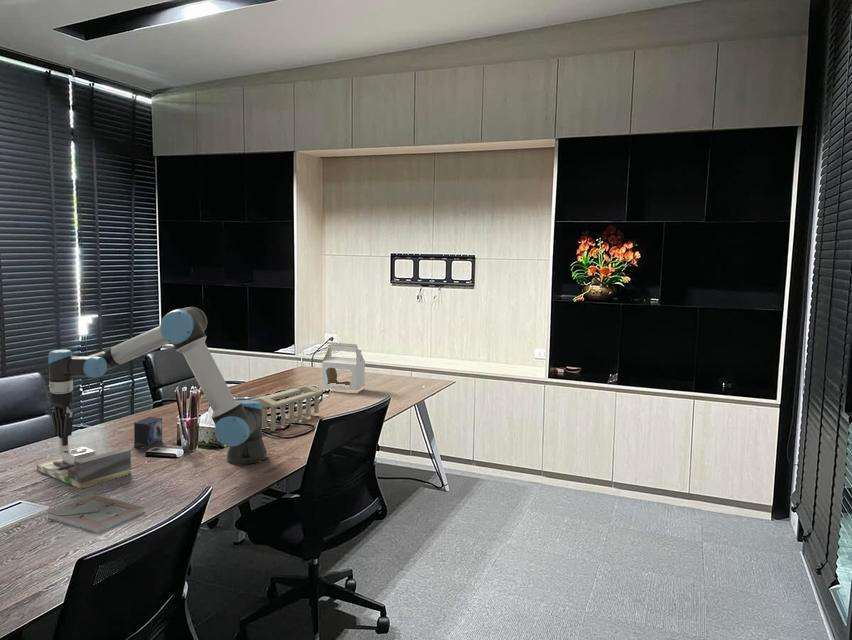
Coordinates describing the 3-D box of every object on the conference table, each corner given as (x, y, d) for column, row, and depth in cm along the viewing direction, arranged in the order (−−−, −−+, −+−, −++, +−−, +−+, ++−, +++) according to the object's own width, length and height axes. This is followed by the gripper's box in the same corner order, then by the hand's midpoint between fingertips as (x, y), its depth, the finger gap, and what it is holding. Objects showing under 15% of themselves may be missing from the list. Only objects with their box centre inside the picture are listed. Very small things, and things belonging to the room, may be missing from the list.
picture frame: (48, 520, 191) (98, 535, 182) (47, 512, 191) (97, 526, 182) (96, 501, 206) (144, 514, 197) (95, 493, 206) (144, 506, 197)
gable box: (321, 391, 369) (321, 343, 366) (330, 386, 382) (331, 340, 379) (356, 394, 364) (357, 346, 361) (364, 389, 376) (365, 343, 373)
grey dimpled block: (95, 464, 232) (95, 449, 231) (59, 473, 221) (59, 458, 220) (83, 459, 236) (83, 445, 235) (47, 468, 225) (47, 454, 225)
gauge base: (131, 474, 229) (130, 450, 228) (80, 489, 213) (79, 463, 212) (86, 457, 245) (85, 434, 244) (35, 470, 230) (34, 446, 229)
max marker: (81, 477, 218) (81, 468, 218) (74, 479, 216) (74, 470, 216) (75, 474, 220) (74, 466, 220) (68, 476, 218) (67, 468, 218)
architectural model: (273, 433, 285) (273, 401, 283) (248, 427, 292) (248, 396, 290) (322, 416, 315) (322, 387, 313) (298, 411, 322) (298, 383, 321)
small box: (147, 449, 257) (147, 424, 256) (133, 447, 258) (132, 422, 257) (163, 441, 267) (163, 417, 266) (149, 440, 269) (149, 416, 267)
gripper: (41, 390, 234) (44, 452, 237) (60, 396, 227) (62, 459, 230) (62, 387, 241) (64, 447, 243) (81, 392, 234) (83, 454, 236)
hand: (63, 453), depth 237 cm, fingers closed
